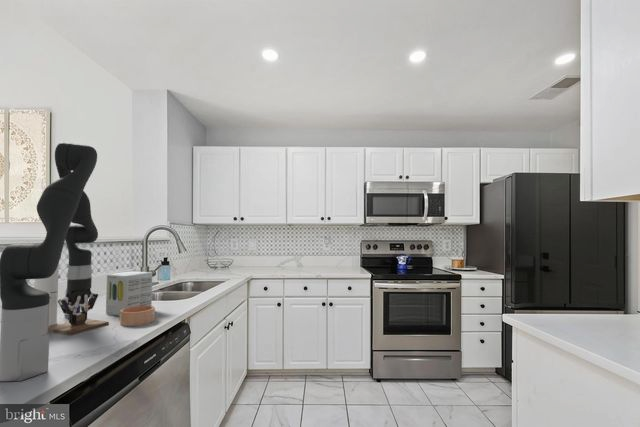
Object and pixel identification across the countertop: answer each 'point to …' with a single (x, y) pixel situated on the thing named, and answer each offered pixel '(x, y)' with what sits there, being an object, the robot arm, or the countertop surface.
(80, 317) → the walnut lid
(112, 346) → the countertop surface
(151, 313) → the terracotta bowl
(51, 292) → the cylindrical container
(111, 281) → the supplement box
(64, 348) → the countertop surface
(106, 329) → the countertop surface
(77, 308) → the energy drink
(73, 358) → the countertop surface
